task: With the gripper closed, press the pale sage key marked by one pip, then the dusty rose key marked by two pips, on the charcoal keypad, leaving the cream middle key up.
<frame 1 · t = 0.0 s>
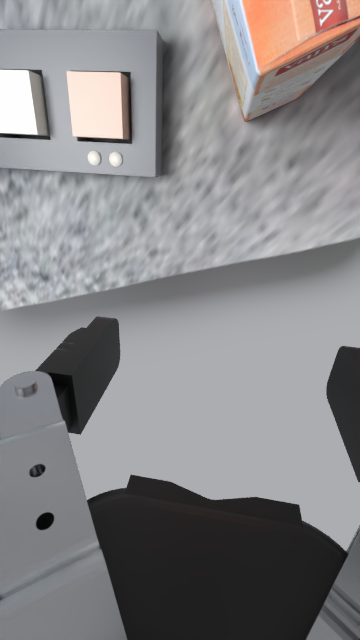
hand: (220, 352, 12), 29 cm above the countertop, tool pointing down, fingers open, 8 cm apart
cracker box: (252, 28, 29), on the countertop
rose key: (101, 108, 31), point 3 cm above the countertop, slide at 0.0 cm
cream key: (17, 105, 32), point 3 cm above the countertop, slide at 0.0 cm
keypad: (35, 109, 35), on the countertop
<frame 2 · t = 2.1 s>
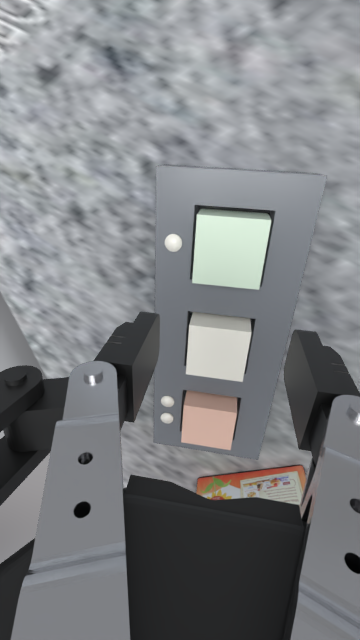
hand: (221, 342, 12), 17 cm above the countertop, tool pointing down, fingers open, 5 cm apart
cracker box: (253, 483, 42), on the countertop
rose key: (208, 417, 33), point 3 cm above the countertop, slide at 0.0 cm
cream key: (217, 345, 29), point 3 cm above the countertop, slide at 0.0 cm
sage key: (229, 248, 25), point 3 cm above the countertop, slide at 0.0 cm
keypad: (219, 328, 32), on the countertop
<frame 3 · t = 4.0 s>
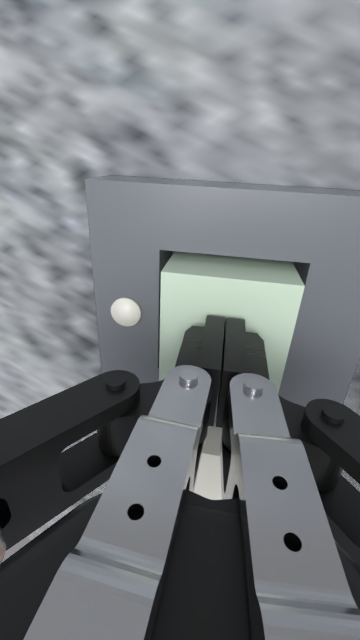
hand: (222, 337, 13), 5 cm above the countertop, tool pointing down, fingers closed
cream key: (206, 463, 18), point 3 cm above the countertop, slide at 0.0 cm
sage key: (224, 322, 14), point 3 cm above the countertop, slide at 0.3 cm, touching gripper
keypad: (210, 420, 21), on the countertop
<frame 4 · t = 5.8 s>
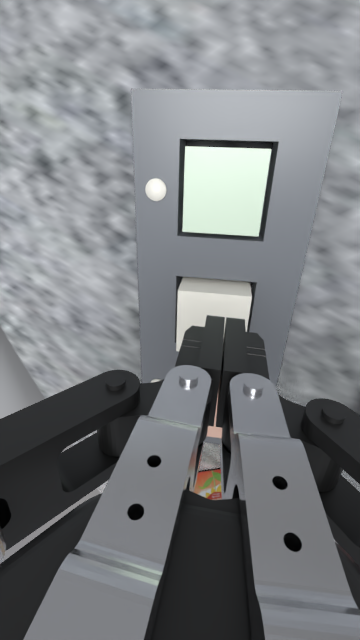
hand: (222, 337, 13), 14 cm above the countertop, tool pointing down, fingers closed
cracker box: (257, 476, 38), on the countertop
rose key: (205, 402, 29), point 3 cm above the countertop, slide at 0.0 cm
cream key: (212, 316, 25), point 3 cm above the countertop, slide at 0.0 cm
sage key: (224, 190, 22), point 2 cm above the countertop, slide at 1.5 cm
keypad: (214, 299, 27), on the countertop
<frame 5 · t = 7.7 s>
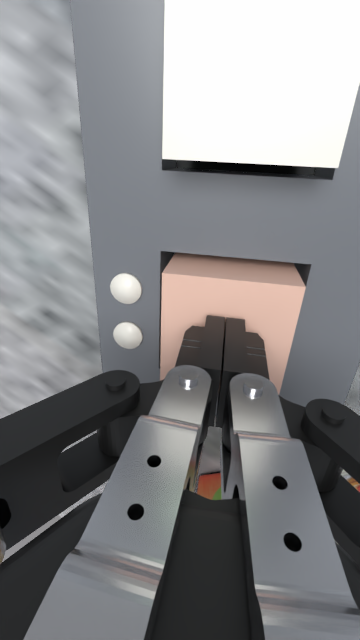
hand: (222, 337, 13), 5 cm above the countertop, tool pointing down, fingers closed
cracker box: (303, 485, 22), on the countertop
rose key: (225, 323, 14), point 3 cm above the countertop, slide at 0.3 cm, touching gripper
cream key: (258, 66, 9), point 3 cm above the countertop, slide at 0.0 cm
keypad: (253, 87, 12), on the countertop
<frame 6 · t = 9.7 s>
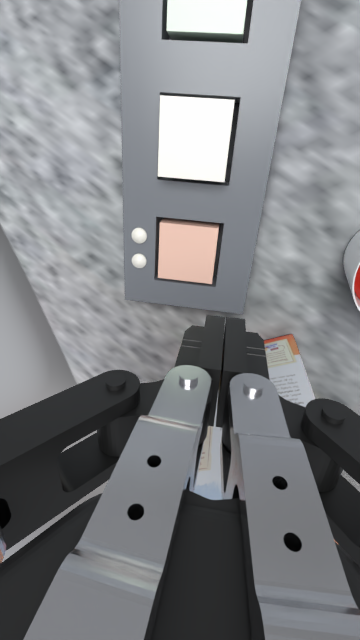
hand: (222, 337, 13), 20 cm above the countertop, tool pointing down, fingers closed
cracker box: (238, 365, 38), on the countertop
rose key: (188, 249, 30), point 2 cm above the countertop, slide at 1.5 cm
cream key: (195, 141, 24), point 3 cm above the countertop, slide at 0.0 cm
keypad: (199, 142, 27), on the countertop
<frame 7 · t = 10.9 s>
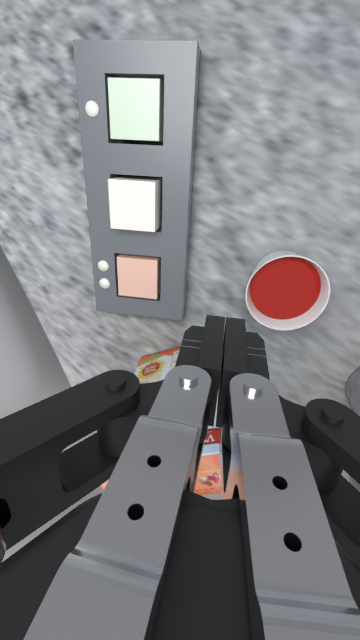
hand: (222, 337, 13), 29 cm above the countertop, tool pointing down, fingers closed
cracker box: (188, 359, 49), on the countertop
rose key: (140, 274, 41), point 2 cm above the countertop, slide at 1.5 cm
cream key: (135, 204, 36), point 3 cm above the countertop, slide at 0.0 cm
sage key: (138, 112, 33), point 2 cm above the countertop, slide at 1.5 cm
candle: (279, 275, 41), on the countertop
keypad: (143, 200, 39), on the countertop
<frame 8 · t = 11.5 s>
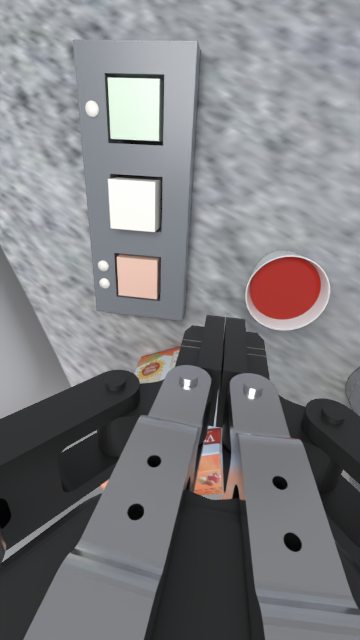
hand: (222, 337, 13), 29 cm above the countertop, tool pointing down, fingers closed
cracker box: (188, 359, 49), on the countertop
rose key: (140, 274, 41), point 2 cm above the countertop, slide at 1.5 cm
cream key: (135, 204, 36), point 3 cm above the countertop, slide at 0.0 cm
sage key: (138, 112, 33), point 2 cm above the countertop, slide at 1.5 cm
candle: (279, 275, 41), on the countertop
keypad: (143, 200, 39), on the countertop
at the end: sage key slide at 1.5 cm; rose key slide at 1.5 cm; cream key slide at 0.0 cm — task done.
